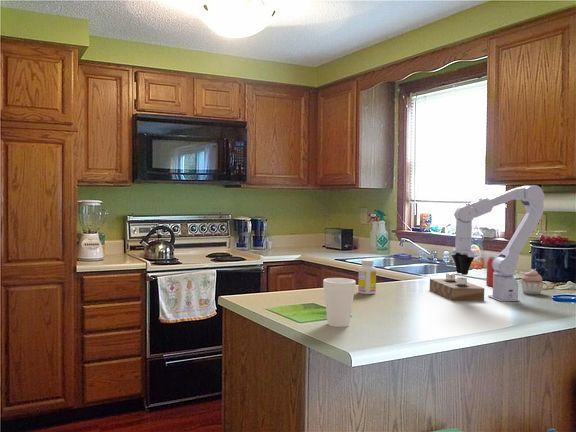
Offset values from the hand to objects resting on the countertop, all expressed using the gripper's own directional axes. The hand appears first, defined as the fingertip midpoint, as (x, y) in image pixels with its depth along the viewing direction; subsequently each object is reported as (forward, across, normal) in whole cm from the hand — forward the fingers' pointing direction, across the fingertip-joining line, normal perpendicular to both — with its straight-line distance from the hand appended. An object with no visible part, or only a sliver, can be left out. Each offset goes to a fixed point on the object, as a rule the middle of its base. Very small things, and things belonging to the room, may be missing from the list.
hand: (462, 274), depth 211 cm
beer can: (+9, -25, +27) cm, 38 cm away
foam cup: (+9, +39, -57) cm, 70 cm away
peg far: (+5, -10, 0) cm, 11 cm away
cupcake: (+9, -7, +33) cm, 35 cm away
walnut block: (+9, -5, 0) cm, 10 cm away
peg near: (+5, 0, 0) cm, 5 cm away
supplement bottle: (+9, -10, -34) cm, 37 cm away
